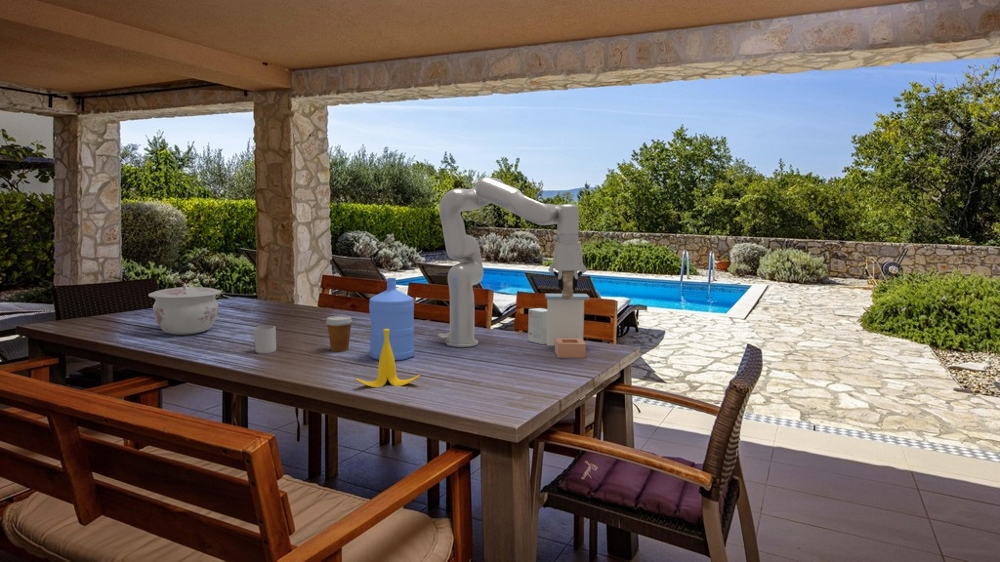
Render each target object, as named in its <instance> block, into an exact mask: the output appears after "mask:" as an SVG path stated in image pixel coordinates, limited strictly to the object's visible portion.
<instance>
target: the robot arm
mask: <svg viewBox="0 0 1000 562" xmlns="http://www.w3.org/2000/svg"><path fill="white" fill-rule="evenodd" d="M490 204H493V205H495V206H498V207H500V208H502V209H505V210H507V211H509V212H510V213H512V214H514V215H516V216H518V217H520V218H522V219H524V220H526V221H528V222H531V223H533V224H536V225H539V226H551V225H557V227H556V228H557V233H556V235H553V237H552V240H554V241H556V242H555V245H554V251H553V262H552V263H551V265H550V266H549V268H548V269H547V270H548V272H550V273H551V274H552V275H554V276H555V277H556V278H557V287H558V289H559V290H560V291H562V290H563V279H562V272H563V271H573V291H576V289H578V279H579V278H580V277H581V276H582V275H583V274H585V273H586V272H588V268H587V267H586V265H585V264H584V262H583V248H582V244H581V242H579V225H580V223H579V220H580V219H579V217H580V216H579V215H580V214H579V213H580V212H579V208H580V207H579V206H578V204H574V203H573V204H571V203H570V204H568V203H566V204H553V203H542V202H540V201H537V200H535V199H532V198H530V197H528V196H526V195H525V194H524V193H522V191H521V190H520V189H519V188H516V187H514V186H512V185H509V184H507V183H505V182H503V180H501V178H500V179H499V178H497V177H490V176H484V177H481V178H480V179H478V180H477V182H476V184H475V186H474V187H472V188H453V189H450V190H449V191H447V192H446V193H445V194H444V195H443V196H442V198H441V200H440V202H439V207H438V213H439V218H440V223H441V225H442V226H441V227H442V228H441V229H442V232H443V233H442V235H443V238H444V240H443V241H444V244H445V251H446V254H447V256H448V257H449V258H450V259H451V260H454V261H455V260H456V261H459V263H456V264H454V265H452V267H450V269H449V270H448V273H447V284H448V291H449V332H446V333H441V332H440V333H439V332H438V339H440V340H445V344H446V346H449V347H456V348H457V347H458V348H468V347H474V346H477V345H478V344H479V340H478V339H476V338H475V294H474V289H473V286H475V285H478V284H480V282H481V281H482V280H483V277H484V267H483V260H482V255H481V250H480V246H479V243H478V241H477V239H476V237H474V236H472V235H470V234H467V232H466V227H465V226H466V225H465V222H464V220H463V216H462V215H461V212H472V211H475V210H478V209H481V208H483V207H485V206H488V205H490Z"/></svg>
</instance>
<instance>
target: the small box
mask: <svg viewBox="0 0 1000 562" xmlns="http://www.w3.org/2000/svg"><path fill="white" fill-rule="evenodd" d="M527 321H528V326H527V327H528V330H527V333H528V335H527V341H528V342H531V343H535V344H540V345H544V344H545V345H547V308H543V307H538V308H537V307H536V308H528V320H527Z"/></svg>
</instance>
